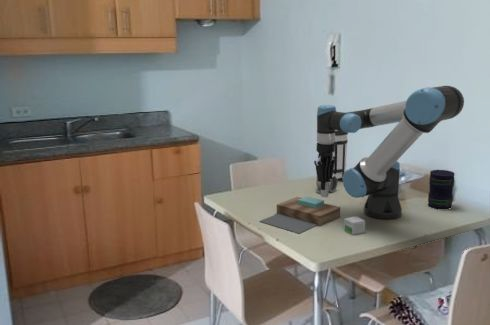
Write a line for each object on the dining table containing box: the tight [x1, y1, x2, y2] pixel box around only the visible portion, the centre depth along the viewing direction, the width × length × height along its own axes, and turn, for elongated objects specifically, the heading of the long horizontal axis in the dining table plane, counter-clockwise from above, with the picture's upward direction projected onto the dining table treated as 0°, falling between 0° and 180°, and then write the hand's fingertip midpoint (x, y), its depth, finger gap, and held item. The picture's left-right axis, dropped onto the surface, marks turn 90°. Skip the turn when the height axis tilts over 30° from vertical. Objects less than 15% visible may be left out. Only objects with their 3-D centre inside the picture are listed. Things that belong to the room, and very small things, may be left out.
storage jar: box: [427, 169, 455, 210], centre depth 217 cm, size 10×10×15 cm
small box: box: [343, 215, 366, 236], centre depth 192 cm, size 6×6×5 cm
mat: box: [258, 213, 319, 235], centre depth 201 cm, size 20×12×1 cm, turn 47°
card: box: [298, 195, 325, 209], centre depth 211 cm, size 9×6×2 cm, turn 47°
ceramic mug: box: [315, 176, 338, 195], centre depth 242 cm, size 11×8×8 cm
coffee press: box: [333, 130, 349, 182], centre depth 259 cm, size 17×16×30 cm
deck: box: [276, 196, 341, 227], centre depth 210 cm, size 22×14×4 cm, turn 47°
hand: (324, 196), depth 218 cm, fingers closed
